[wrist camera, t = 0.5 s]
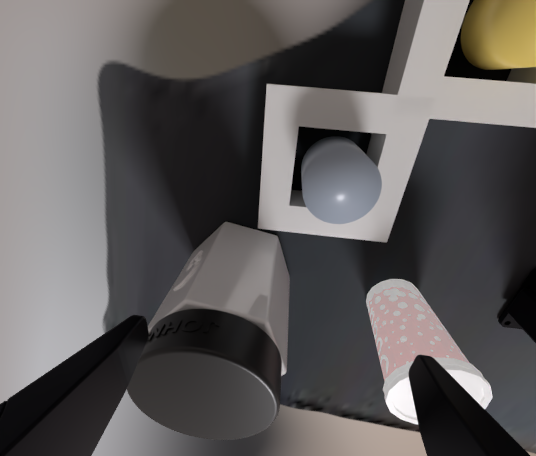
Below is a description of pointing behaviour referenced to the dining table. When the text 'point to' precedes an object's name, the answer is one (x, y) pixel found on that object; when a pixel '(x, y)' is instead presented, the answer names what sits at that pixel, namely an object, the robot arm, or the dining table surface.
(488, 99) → the hollow square frame
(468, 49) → the mustard button
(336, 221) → the slate button
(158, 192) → the dining table surface
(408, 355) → the beverage cup
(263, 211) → the light gray housing
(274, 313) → the jar
